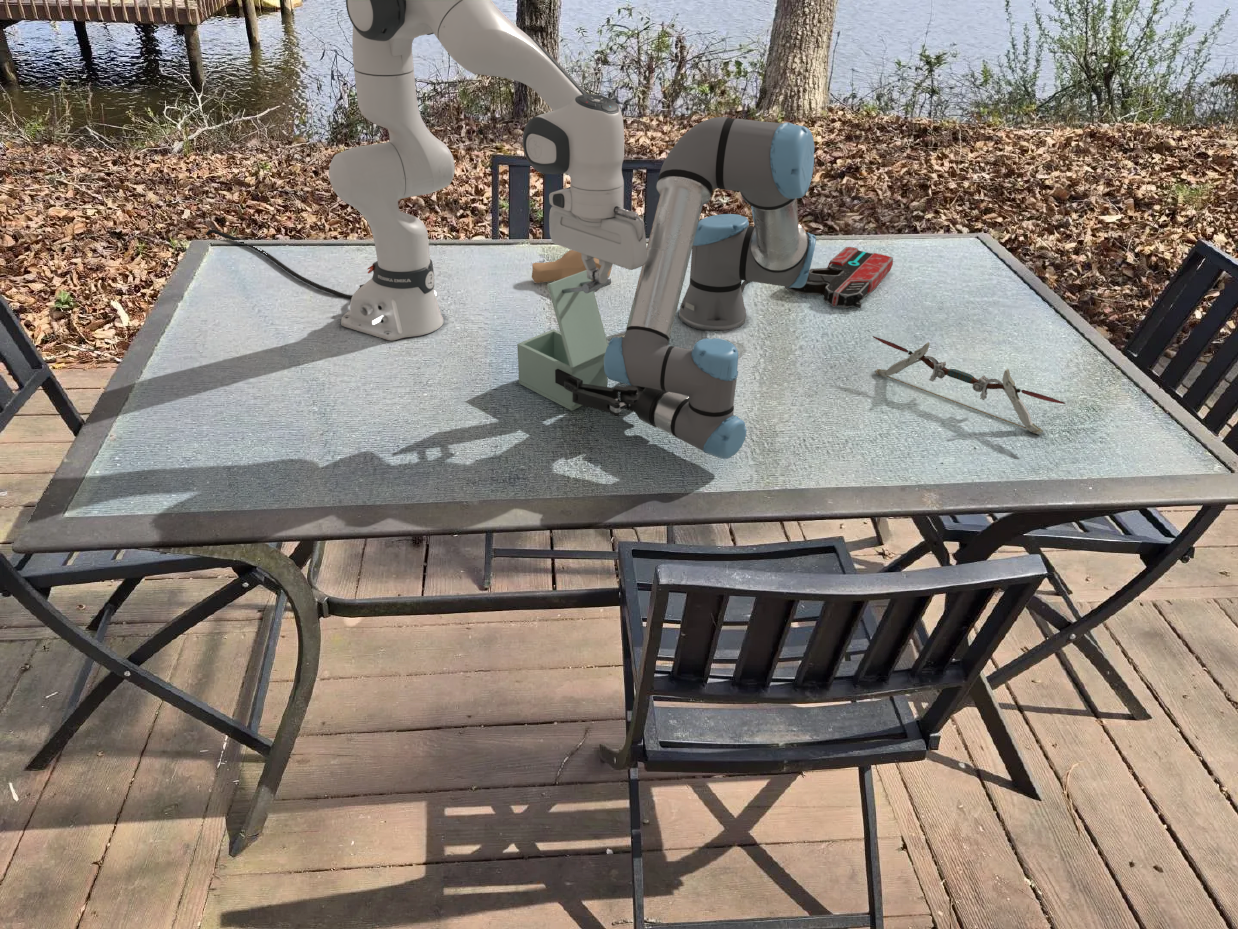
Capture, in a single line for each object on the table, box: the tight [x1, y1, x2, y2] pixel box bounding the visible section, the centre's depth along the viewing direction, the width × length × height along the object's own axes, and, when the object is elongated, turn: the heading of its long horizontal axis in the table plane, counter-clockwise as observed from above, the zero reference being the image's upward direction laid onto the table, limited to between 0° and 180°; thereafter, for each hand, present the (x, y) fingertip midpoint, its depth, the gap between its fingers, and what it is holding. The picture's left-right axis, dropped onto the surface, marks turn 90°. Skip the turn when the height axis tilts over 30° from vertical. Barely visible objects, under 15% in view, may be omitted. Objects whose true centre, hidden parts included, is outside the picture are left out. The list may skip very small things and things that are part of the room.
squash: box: [531, 249, 613, 284], centre depth 215 cm, size 11×20×9 cm, turn 90°
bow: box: [872, 335, 1066, 435], centre depth 169 cm, size 39×2×10 cm, turn 47°
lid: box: [546, 270, 612, 367], centre depth 158 cm, size 16×10×8 cm
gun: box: [784, 246, 894, 309], centre depth 220 cm, size 4×31×19 cm
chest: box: [516, 328, 608, 412], centre depth 170 cm, size 15×10×9 cm, turn 47°
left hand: (597, 280), depth 153 cm, fingers closed, pressing on lid
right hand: (576, 366), depth 167 cm, fingers closed on chest, 10 cm apart
